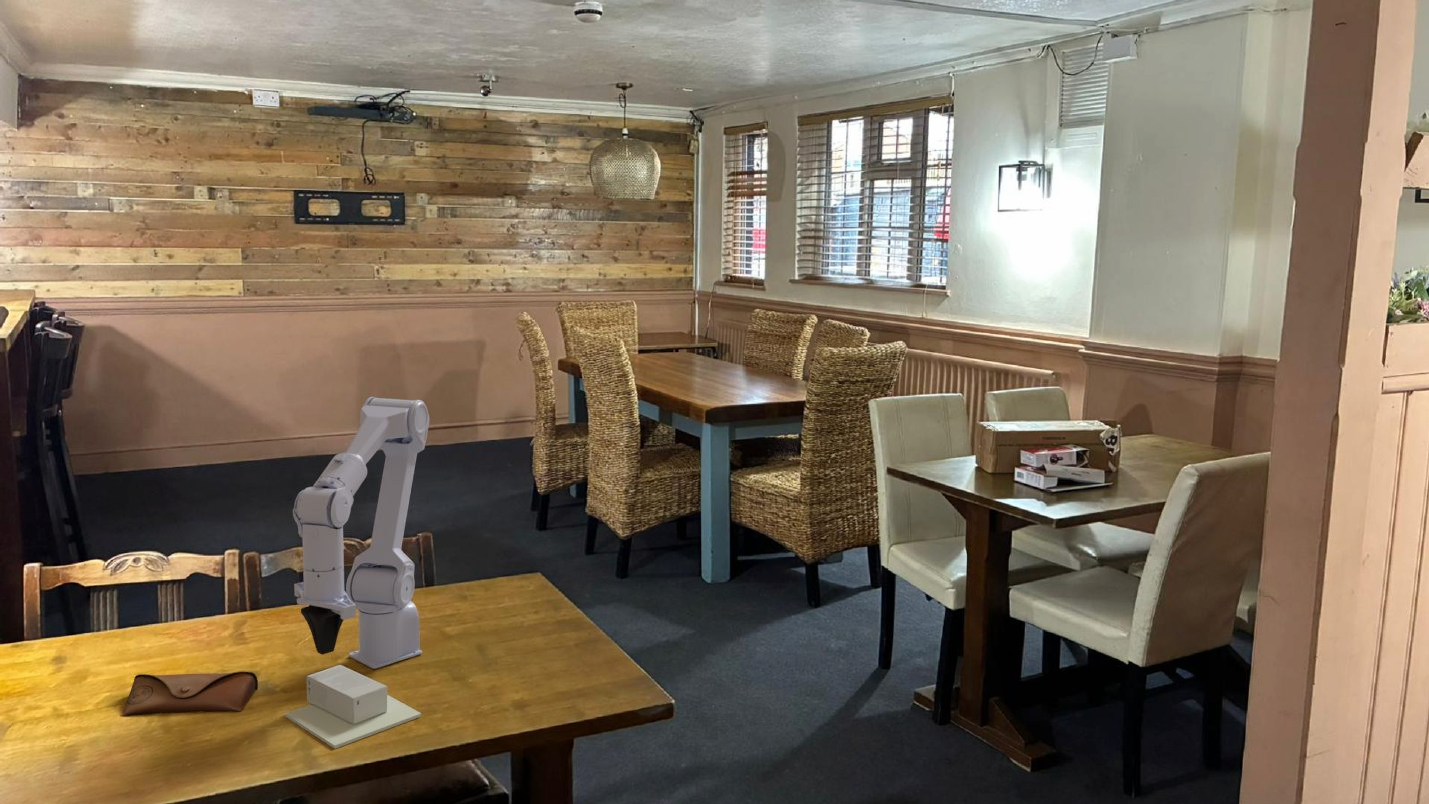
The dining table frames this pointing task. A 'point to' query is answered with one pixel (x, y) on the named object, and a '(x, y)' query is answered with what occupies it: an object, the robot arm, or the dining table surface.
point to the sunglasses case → (190, 693)
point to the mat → (345, 732)
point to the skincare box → (347, 694)
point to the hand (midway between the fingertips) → (325, 651)
